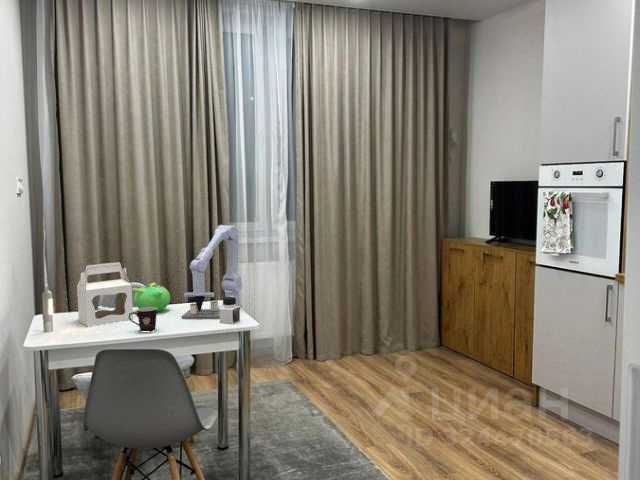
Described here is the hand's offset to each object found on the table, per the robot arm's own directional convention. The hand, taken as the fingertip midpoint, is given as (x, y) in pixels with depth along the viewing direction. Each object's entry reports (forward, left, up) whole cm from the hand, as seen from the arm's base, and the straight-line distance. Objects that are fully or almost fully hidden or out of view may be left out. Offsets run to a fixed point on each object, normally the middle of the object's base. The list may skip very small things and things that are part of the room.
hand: (199, 311), depth 287 cm
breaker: (-7, +5, -1) cm, 9 cm away
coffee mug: (+26, -18, -3) cm, 32 cm away
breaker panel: (-4, +1, -3) cm, 5 cm away
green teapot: (-11, -28, -3) cm, 30 cm away
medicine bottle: (+9, +17, -3) cm, 19 cm away
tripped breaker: (0, -3, -1) cm, 3 cm away
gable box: (+8, -44, -3) cm, 45 cm away
